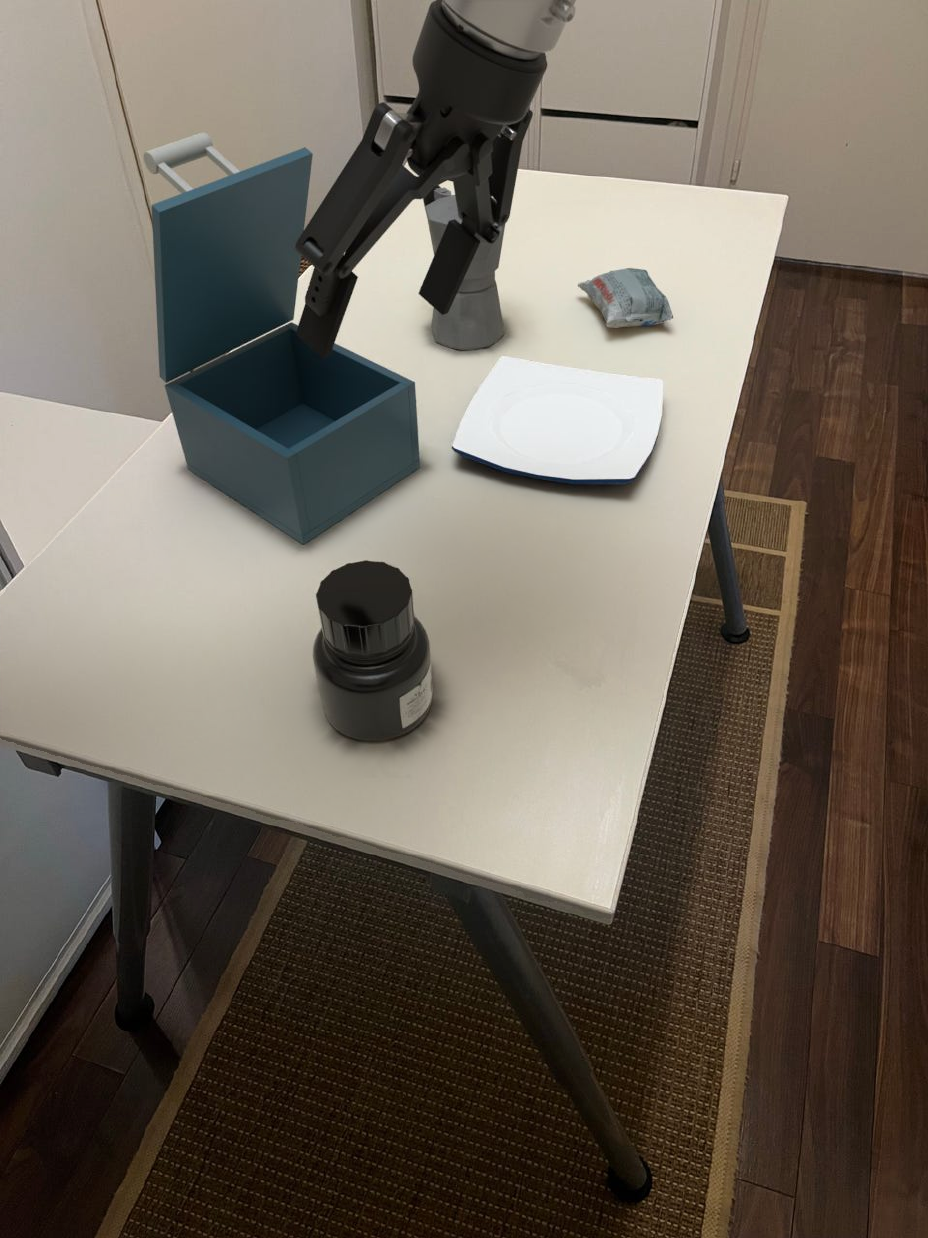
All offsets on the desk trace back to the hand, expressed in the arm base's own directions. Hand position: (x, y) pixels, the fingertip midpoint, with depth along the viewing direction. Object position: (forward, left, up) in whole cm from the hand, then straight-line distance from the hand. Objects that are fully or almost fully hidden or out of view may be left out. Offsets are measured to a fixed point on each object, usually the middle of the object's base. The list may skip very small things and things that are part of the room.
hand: (376, 323), depth 69 cm
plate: (+17, +19, -24) cm, 35 cm away
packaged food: (+27, +44, -24) cm, 57 cm away
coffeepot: (+7, +42, -24) cm, 49 cm away
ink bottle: (-1, -17, -24) cm, 29 cm away
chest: (-10, +14, -24) cm, 29 cm away
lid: (-14, +18, -4) cm, 23 cm away
